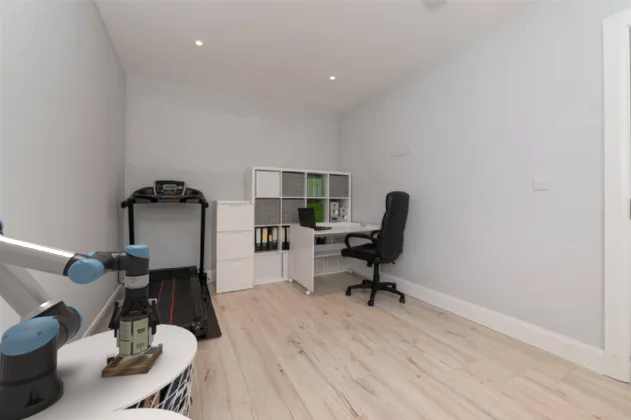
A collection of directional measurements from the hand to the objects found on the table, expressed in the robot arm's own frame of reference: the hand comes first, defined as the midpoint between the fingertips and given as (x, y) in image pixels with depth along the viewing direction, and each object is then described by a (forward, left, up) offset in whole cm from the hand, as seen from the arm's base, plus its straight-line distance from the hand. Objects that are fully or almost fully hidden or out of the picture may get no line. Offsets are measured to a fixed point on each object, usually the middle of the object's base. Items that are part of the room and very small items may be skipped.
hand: (135, 344), depth 99 cm
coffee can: (0, 0, -3) cm, 3 cm away
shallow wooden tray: (0, 0, -7) cm, 7 cm away
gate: (0, +7, -7) cm, 10 cm away
